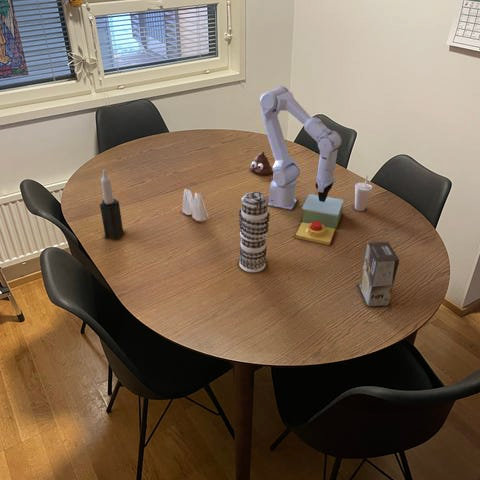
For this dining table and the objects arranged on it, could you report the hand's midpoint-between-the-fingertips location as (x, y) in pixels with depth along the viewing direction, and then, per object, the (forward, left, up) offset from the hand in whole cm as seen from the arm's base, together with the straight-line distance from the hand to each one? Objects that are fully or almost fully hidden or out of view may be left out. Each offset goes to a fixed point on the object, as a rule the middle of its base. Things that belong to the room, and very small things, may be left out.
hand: (322, 200), depth 168 cm
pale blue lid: (+1, 0, -2) cm, 2 cm away
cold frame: (+1, 0, -7) cm, 7 cm away
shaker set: (-43, -17, -7) cm, 47 cm away
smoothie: (+13, +12, -7) cm, 19 cm away
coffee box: (+24, -37, -7) cm, 45 cm away
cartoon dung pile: (-16, +256, -49) cm, 261 cm away
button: (+1, -12, -4) cm, 13 cm away
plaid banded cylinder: (-14, -36, -7) cm, 39 cm away
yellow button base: (+1, -12, -7) cm, 14 cm away
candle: (-64, -38, -7) cm, 75 cm away
